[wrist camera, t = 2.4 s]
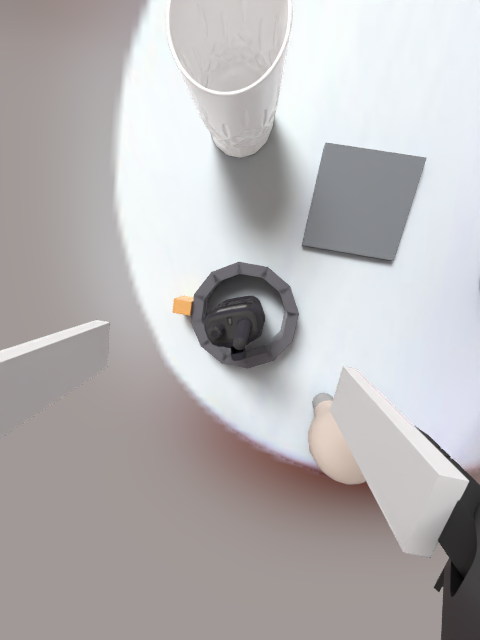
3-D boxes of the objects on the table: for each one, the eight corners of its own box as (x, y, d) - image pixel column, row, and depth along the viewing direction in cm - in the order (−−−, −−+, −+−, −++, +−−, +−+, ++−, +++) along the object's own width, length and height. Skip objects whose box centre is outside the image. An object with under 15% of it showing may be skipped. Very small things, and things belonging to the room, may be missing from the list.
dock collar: (303, 273, 26) (309, 274, 24) (282, 366, 29) (284, 377, 26) (187, 253, 27) (179, 251, 24) (177, 346, 30) (168, 354, 27)
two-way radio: (261, 291, 27) (263, 317, 13) (267, 327, 28) (275, 388, 14) (216, 300, 28) (170, 333, 13) (224, 334, 29) (188, 400, 14)
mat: (422, 160, 23) (426, 157, 22) (390, 260, 25) (393, 260, 25) (324, 145, 23) (325, 142, 23) (301, 245, 26) (302, 244, 25)
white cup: (287, 84, 23) (308, -56, 13) (268, 171, 24) (274, 106, 15) (210, 70, 23) (174, -78, 13) (198, 156, 25) (158, 83, 15)
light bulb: (298, 374, 29) (321, 435, 19) (351, 378, 29) (405, 443, 18) (293, 419, 31) (312, 499, 20) (344, 423, 30) (390, 508, 19)
